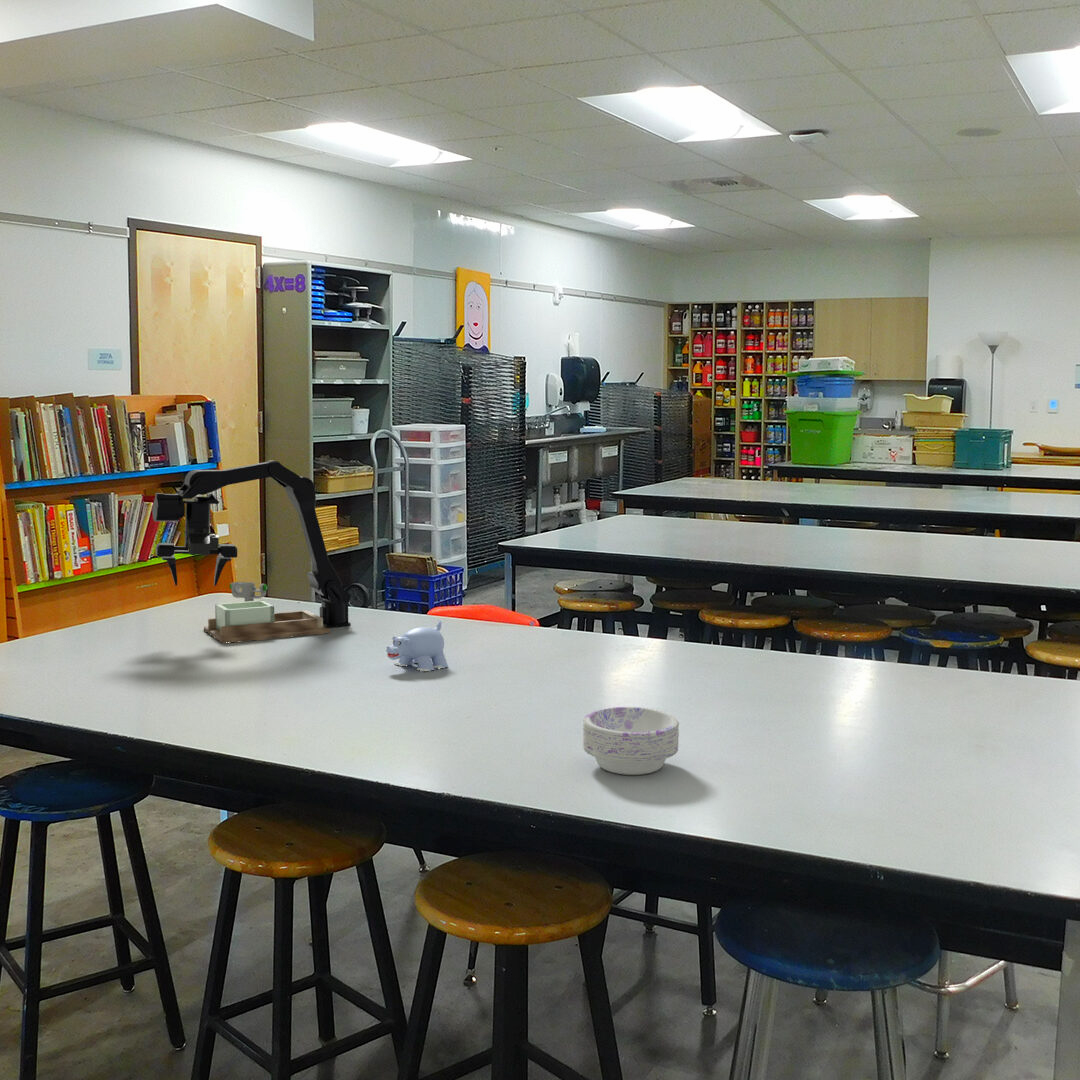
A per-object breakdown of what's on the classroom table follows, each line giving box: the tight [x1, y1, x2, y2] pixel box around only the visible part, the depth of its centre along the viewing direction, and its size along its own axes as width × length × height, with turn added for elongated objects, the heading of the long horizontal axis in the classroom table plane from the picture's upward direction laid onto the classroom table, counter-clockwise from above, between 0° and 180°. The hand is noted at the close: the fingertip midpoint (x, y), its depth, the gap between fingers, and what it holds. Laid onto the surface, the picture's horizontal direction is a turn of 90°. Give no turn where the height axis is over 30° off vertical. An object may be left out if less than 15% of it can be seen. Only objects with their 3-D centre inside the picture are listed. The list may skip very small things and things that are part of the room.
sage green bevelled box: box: [214, 600, 275, 630], centre depth 286 cm, size 12×10×6 cm
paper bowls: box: [582, 706, 680, 776], centre depth 183 cm, size 15×15×8 cm
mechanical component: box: [229, 581, 269, 602], centre depth 304 cm, size 3×10×10 cm, turn 78°
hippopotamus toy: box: [385, 620, 449, 672], centre depth 251 cm, size 11×15×10 cm
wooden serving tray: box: [203, 609, 331, 644], centre depth 289 cm, size 27×18×4 cm, turn 120°
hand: (195, 585), depth 281 cm, fingers open, 9 cm apart
